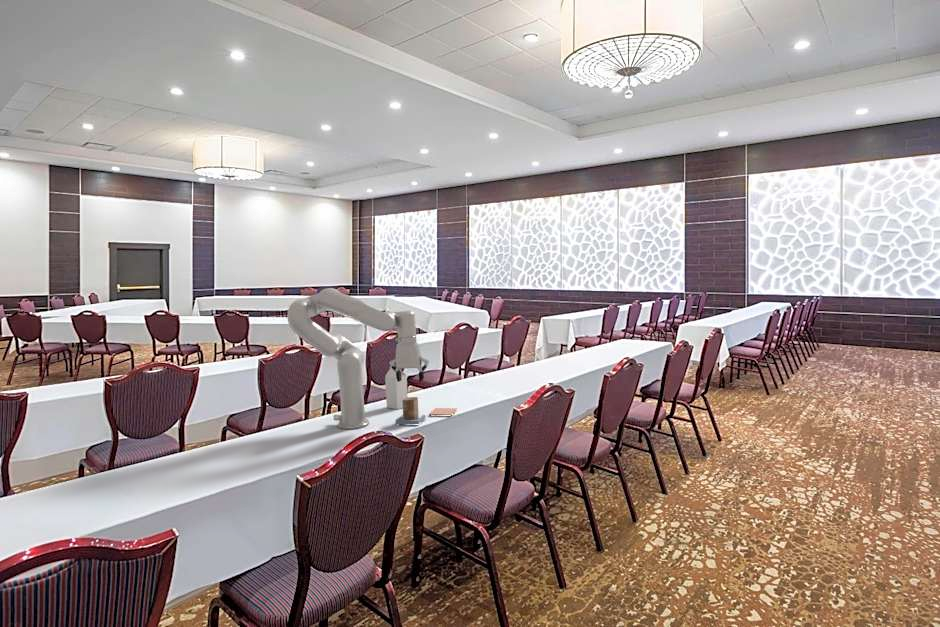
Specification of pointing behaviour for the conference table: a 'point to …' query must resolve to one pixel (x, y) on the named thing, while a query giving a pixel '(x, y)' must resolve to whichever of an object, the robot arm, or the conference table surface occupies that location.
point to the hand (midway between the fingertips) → (410, 381)
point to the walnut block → (410, 408)
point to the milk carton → (395, 389)
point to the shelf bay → (401, 421)
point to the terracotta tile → (443, 411)
